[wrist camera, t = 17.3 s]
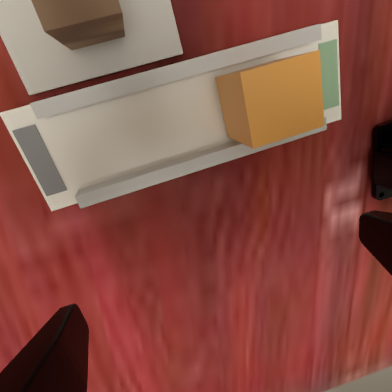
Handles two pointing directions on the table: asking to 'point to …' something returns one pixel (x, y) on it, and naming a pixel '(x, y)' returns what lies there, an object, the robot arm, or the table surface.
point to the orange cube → (272, 100)
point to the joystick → (80, 21)
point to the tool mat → (91, 55)
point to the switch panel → (153, 122)
